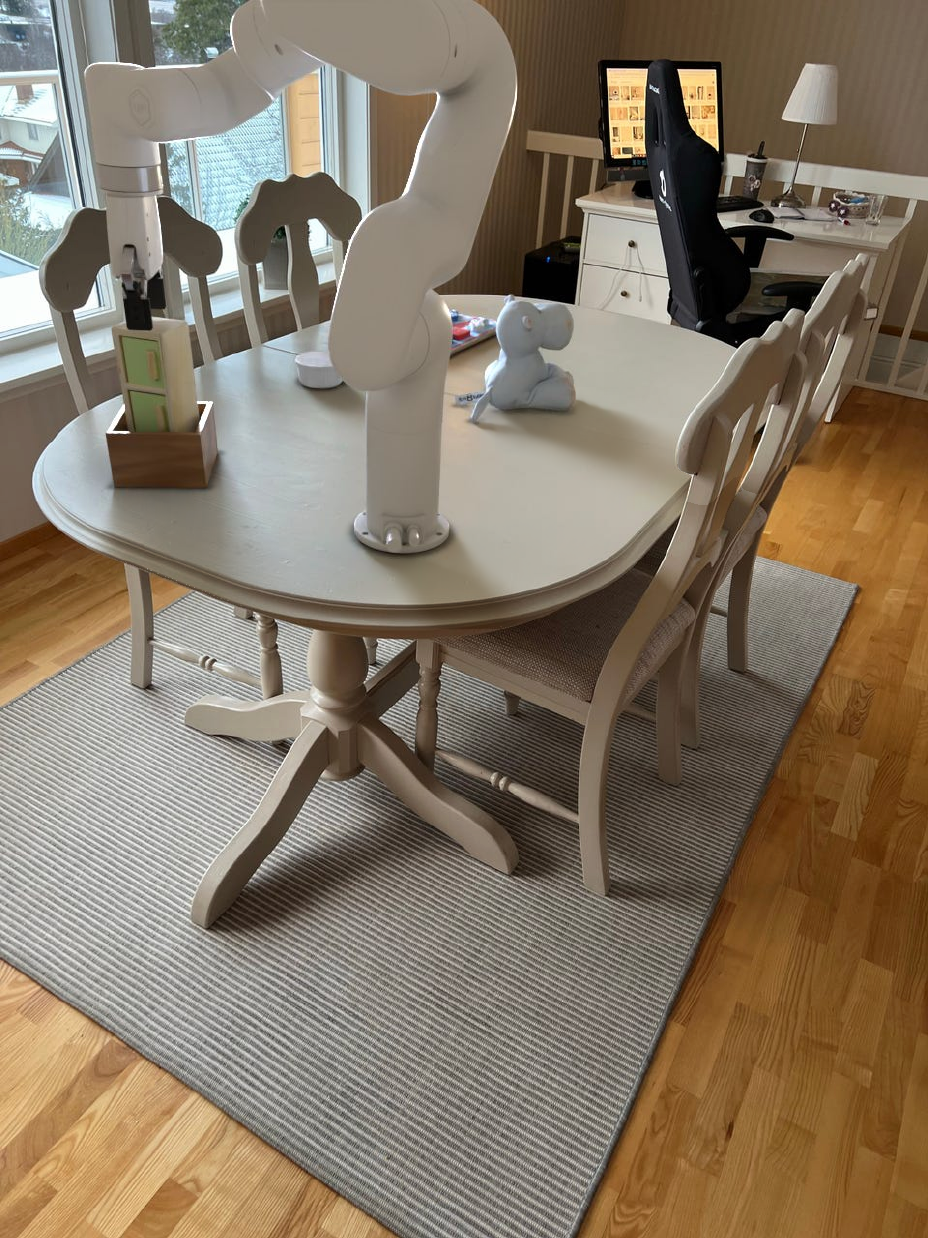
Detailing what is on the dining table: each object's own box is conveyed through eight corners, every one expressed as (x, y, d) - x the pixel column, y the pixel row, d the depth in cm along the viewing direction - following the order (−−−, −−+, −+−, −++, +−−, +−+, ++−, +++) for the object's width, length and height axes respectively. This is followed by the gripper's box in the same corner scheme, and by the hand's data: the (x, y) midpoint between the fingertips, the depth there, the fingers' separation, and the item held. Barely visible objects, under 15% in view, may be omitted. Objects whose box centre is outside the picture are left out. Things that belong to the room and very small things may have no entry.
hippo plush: (593, 413, 165) (607, 307, 155) (471, 423, 158) (477, 312, 148) (552, 379, 179) (563, 280, 169) (438, 386, 173) (442, 283, 163)
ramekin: (291, 388, 168) (290, 364, 166) (301, 372, 175) (300, 349, 173) (340, 391, 168) (340, 367, 165) (348, 375, 175) (348, 352, 173)
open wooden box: (206, 488, 132) (200, 434, 128) (114, 486, 131) (105, 432, 127) (218, 452, 143) (213, 401, 139) (132, 450, 142) (125, 399, 137)
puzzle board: (419, 310, 215) (420, 298, 213) (507, 330, 205) (508, 318, 204) (338, 341, 192) (338, 328, 191) (432, 364, 183) (433, 351, 181)
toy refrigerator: (129, 473, 135) (107, 327, 123) (158, 455, 141) (139, 313, 129) (179, 483, 133) (160, 335, 122) (205, 463, 139) (190, 321, 128)
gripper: (114, 166, 123) (131, 299, 132) (81, 189, 108) (103, 337, 118) (173, 169, 123) (186, 302, 133) (148, 193, 109) (164, 339, 119)
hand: (147, 318), depth 125 cm, fingers open, 9 cm apart
